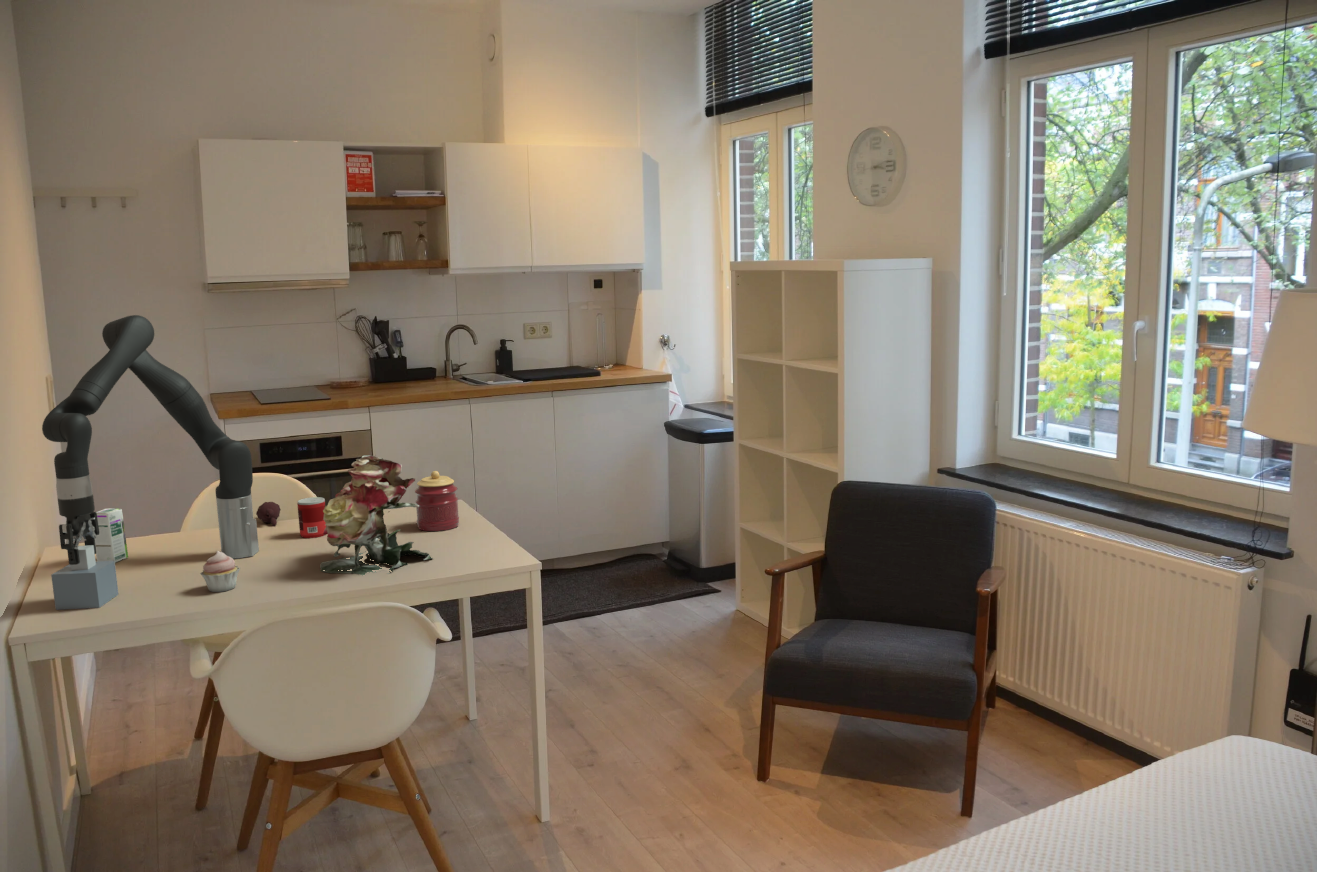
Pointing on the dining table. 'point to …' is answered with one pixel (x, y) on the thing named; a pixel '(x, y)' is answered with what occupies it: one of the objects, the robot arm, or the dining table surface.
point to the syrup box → (111, 536)
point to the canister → (437, 503)
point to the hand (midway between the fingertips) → (83, 559)
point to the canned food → (311, 517)
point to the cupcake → (220, 573)
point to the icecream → (268, 512)
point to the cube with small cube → (85, 582)
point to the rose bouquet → (367, 517)
